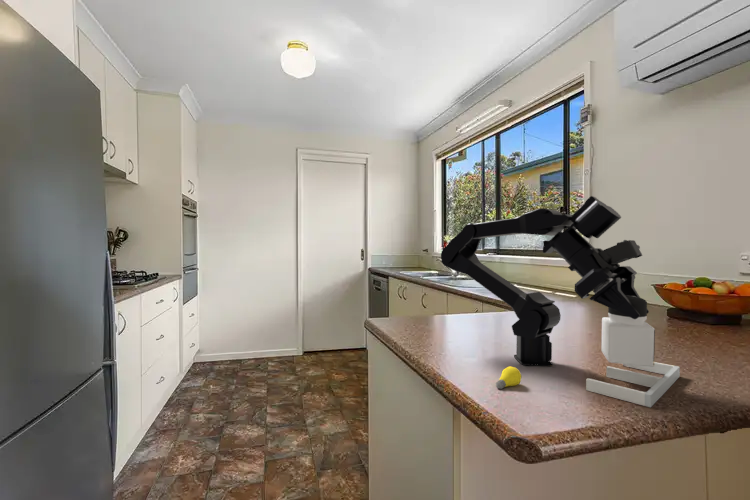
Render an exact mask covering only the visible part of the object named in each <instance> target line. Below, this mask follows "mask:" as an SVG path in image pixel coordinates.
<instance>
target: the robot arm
mask: <svg viewBox="0 0 750 500" xmlns="http://www.w3.org/2000/svg"><path fill="white" fill-rule="evenodd" d="M621 218H622V216H621V215H620V214H619V212H618V211H616V210H615V209H614V208H613V207H612V206H609V205H607V204H606V203H604V202H603V201H601V200H599V198H597V197H596V196H593V195H590V196H589V197H588V198H587V199H586V200H585V202H584V203H583V204H582V205H581V206H580V207H579V208H578V209H577V210H576V211H575V212H574V213H573V214H566V213H564V214H563V213H561V212H560V211H558V210H556V209H555V210H554V209H549V208H537V209H534V210H531V211H528V212H525V213H523V214H521V215H519V216H516V217H512V218H504V219H498V220H492V221H484V222H477V223H473V222H472V223H467V224H465V226H464V227H463V228H462V229H461V231H460V232H459V233H458V234H456V235H455V236H454V237H453V238H452V239H451V240H450V241H449V242H448V244H447V245H446V246H445V247H444V248H442V249H441V253H440V258H441V259H440V260H441V261H440V262H441V264H442V265H443V266H444V267H446V268H448V269H450V270H452V271H454V272H458V273H460V274H465V275H467V276H468V277H470V278H471V279H472V280H474V281H475V282H476V283H478V284H479V285H480V286H482V287H484V288H485V289H486V290H487V291H489V292H490V293H492V294H493V295H495V297H497V298H498V299H500V301H503V302H504V303H505V304H507V306H509V307H511V308H512V310H513V313H514V314H515V315H516V318H518V319H517V321H515V323H513V324H512V325H511V329H512V332H513V335H514V336H516V354H513V357H514V359H515V360H517V361H518V362H519V364H521V365H523V366H546V367H547V366H548V367H552V366H553V362H551V361H552V358H553V357H552V356H553V355H552V354H553V353H552V352H553V343H552V341H550V335H549V334H552V331H553V329H554V327H556V326H558V324H559V323H560V321H561V312H560V309H559V307H558V306H557V305H556V304H555V300H552V299H550V298H548V297H546V296H545V294H543V293H542V292H540V291H533V292H528V293H526V292H524V291H523V289H522V290H521V288H519V287H517V286H515V285H514V284H513V283H511V282H510V281H508V280H507V279H506V278H504V277H502V276H501V275H500V274H498V273H496V272H495V271H494V270H492V269H491V268H489V267H488V266H486V265H485V264H484V263H482V262H481V261H480V260H479V258H478V256H477V254H476V252H477V251H478V250H479V249H478V248H479V245H480V242H481V241H482V239H485V238H496V237H504V236H505V237H506V236H512V235H514V236H515V235H523V234H524V235H533V236H534V235H535V236H537V235H538V236H549V237H550V236H551V237H552V236H553V237H552V238H551V239H550V240H543V242H542V244H543V247H542V253H543V254H552V253H553V252H554V251H555V252H556V253H558V255H559V256H560V257H561V258H562V259H563V260H564V261H565V262H566V263H567V264H568V265H569V266H568V269H569V270H570V271H571V272H576V273H577V274H578V275H579V276H580V277H581V278H580V279H579V280H578V281H576V282H575V283H574V292H575V293H576V294H577V295H578V296H579V297H580V298H581V299H587V298H589V300H590V301H593V302H596V303H597V304H601V305H602V306H605V307H606V308H607V307H609V308H611V309H614V310H616V311H618V312H620V313H622V314H624V315H626V316H629V317H631V318H633V319H637V318H638V317H640V314H639V313H638V312H637V310H636V309H635V308H634V306H633V305H632V304H631V302H630V301H629V300H628V299H627V297H626V296H635V297H640V298H641V296H640V295H639V293H638V291H637V289H636V288H635V286H634V285H635V279H636V275H637V274H638V273H637V271H636V270H635V269H633V268H632V267H631V266H630V265H629V266H628V265H620V264H619V263H623V262H626V261H629V260H631V259H638V258H640V257H642V256H643V254H642V252H641V247H640V245H639V244H637V242H636V240H630V239H629V240H627V239H624V240H623V241H620V242H616V244H615V245H613V246H610V247H608V248H605V249H602V248H599V247H597V248H595V247H594V246H593V244H591V242H589V241H588V240H587V239H591V238H592V237H594V238H596V239H599V238H600V237H601V236H602V235H604V234H605V233H606V232H607V231H608V230H609V229H611V227H612V226H614V225H615V224H616V223H617V222H619V220H621ZM563 230H564V231H563ZM583 236H584V237H585V238H584V237H583ZM586 238H587V239H586ZM591 292H593V293H594V294H593V295H591V296H590V293H591ZM649 313H650V311H649V309H648V308H647V315H648V314H649Z"/></svg>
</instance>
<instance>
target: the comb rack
mask: <svg viewBox="0 0 750 500" xmlns="http://www.w3.org/2000/svg"><path fill="white" fill-rule="evenodd" d="M622 366H623V367H626V368H631V369H637V370H640V371H641V370H642V371H645V372H651V373H654V374H655V373H656V374H660V375H663V376H662V377H661V376H657V375H656V376H655V375H651V374H647V373H642V372H638V371H633V370H629V369H623V368H618V367H614V366H609V365H607V366H606V369H605V371H606V372H605V373H606V375H605V376H606V377H605V378H609V379H614V380H618V381H622V382H626V383H627V382H628V383H632V384H635V385H640V386H644V387H647V388H649V389H648V390H647V391H642V390H637V389H633V388H629V387H625V386H622V385H617V384H614V383H609V382H605V381H601V380H597V379H594V378H589V377H588V378H586V380H585V391H588V392H592V393H595V394H599V395H603V396H607V397H610V398H615V399H617V400H622V401H625V402H629V403H632V404H636V405H640V406H644V407H647V408H652V407H653V406H654V405H655V404H656V402H658V400H659V399H660V398H661V397H662V396H663V395H664V394H665V393H666V392H667V391H668V390H669V389H670V387H671V386H672V385H673V384H674V383H675V382H676V381H677V380H678V379H679V378H680V374H681V373H680V371H681V370H680V369H681V368H680V366H678V365H672V364H667V363H661V362H656V361H654V367H648V366H638V365H628V364H622Z"/></svg>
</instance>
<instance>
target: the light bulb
mask: <svg viewBox="0 0 750 500" xmlns="http://www.w3.org/2000/svg"><path fill="white" fill-rule="evenodd" d="M521 381H522V373H521V372H520V370H519V369H518V368H517V367H515V366H510V365H509V366H507V367H506V368H504V369H503V370H502V372H501V375H500V377H499V380H497V382H496V383H495V386H496V389H500V390H502V389H504V388H507V387H515V386H517V385H519V384H520V383H521Z"/></svg>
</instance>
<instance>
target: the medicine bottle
mask: <svg viewBox="0 0 750 500" xmlns="http://www.w3.org/2000/svg"><path fill="white" fill-rule="evenodd" d="M626 297H627V299H628V300H629V301H630V302H631V304H632V305H633V306H634V308H635V309H636V310H637V312H638V313H639V314H640V317H638V318H637V319H633V318H631V317H629V316H626V315H624V314H622V313H620V312H618V311H616V310H614V309H611V308H609V307H608V308H607V311H608V313H607V317H605V316H604V317H602V318H601V353H602V354H603V356H604V357H605V359H606V360H607V362H608V363H610V364H611V363H612V364H620V365H623V364H628V365H638V366H648V367H654V362H655V349H656V348H655V345H656V344H655V339H656V335H655V334H656V328H654V327H653V326H652V325H650V324H649V323H648V322H647V319H648V318H647V317H648V314H647V309H648V302H647V300H646V299H644V298H642V297H641V296H640V297H635V296H626Z"/></svg>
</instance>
